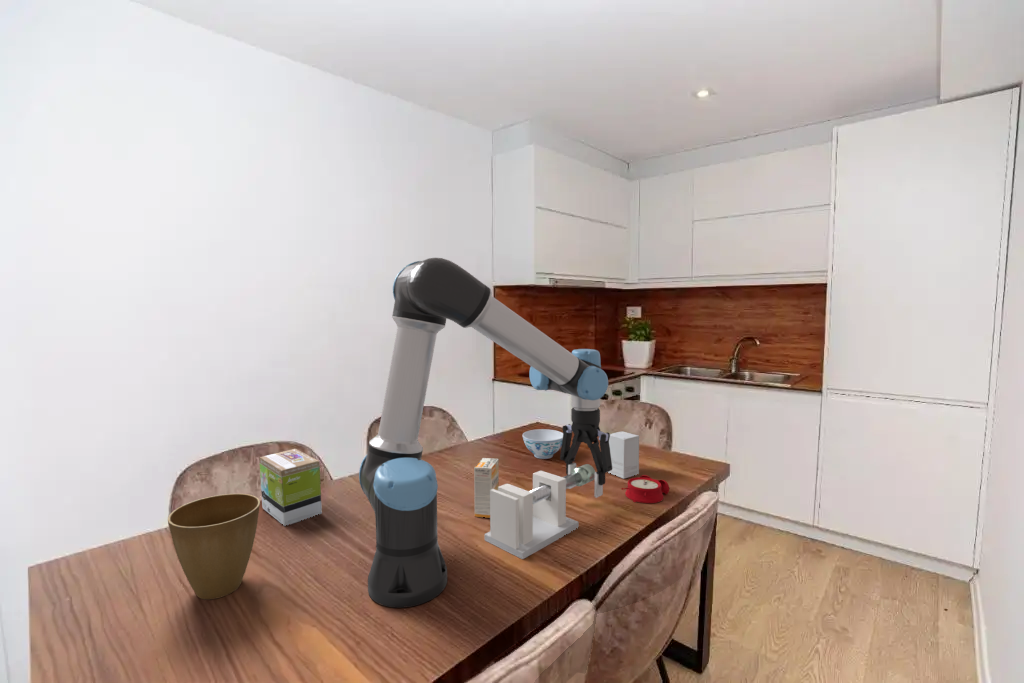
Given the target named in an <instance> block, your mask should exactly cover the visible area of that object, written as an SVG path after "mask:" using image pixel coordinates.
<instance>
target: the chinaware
mask: <svg viewBox="0 0 1024 683" xmlns="http://www.w3.org/2000/svg"><path fill="white" fill-rule="evenodd" d="M522 439H523V442H524V444H525V447H526V449H527V450H529V452H531V453H532V454H533V456H534V457H535V458H537V459H539V460H544V459H545V460H547V459H551V458H553V456H554V455H555V454H556V453H557V452H558V451H560V450H561V446H562V440H563V431H562V432H561V431H559V430H555V429H545V428H541V429H537V428H536V429H530V430H527V431H525V432H523V433H522Z"/></svg>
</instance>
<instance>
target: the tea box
mask: <svg viewBox="0 0 1024 683" xmlns="http://www.w3.org/2000/svg"><path fill="white" fill-rule="evenodd" d="M258 461H259V472H260V473H259V474H260V476H259V478H260V490H261V492H260V493H261V506H262V509H263V510H264V511H265V512H266V513H268V514H269V515H270V516H272V517H273V518H274V519H275V520H276V521H277V522H278V523H280V524H281V525H282V524H283V527H286V525H287V526H289V524H290V525H293V524H296V523H299V522H301V520H302V521H304V519H305V520H308V519H310V517H311V518H313V516H314V517H316V516H315V515H317V516H319V515H321V514H323V512H322V510H323V508H322V490H321V489H322V488H321V487H322V486H321V468H320V467H321V466H320V460H318V459H316V458H314V457H312V456H311V455H308V454H306V453H305V452H303V451H301V450H299V449H297V448H293V449H288V450H284V451H281V452H277V453H272V454H267V455H263V456H259V460H258ZM318 514H319V515H318ZM307 518H308V519H307Z"/></svg>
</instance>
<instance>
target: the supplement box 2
mask: <svg viewBox="0 0 1024 683" xmlns="http://www.w3.org/2000/svg"><path fill="white" fill-rule="evenodd" d="M609 434H610V438H609V446H610V454H611V461H612V470H611V471H609V472H608V473H607V474H610V473H611V475H613V476H615V475H616V477H618V478H621V479H627V478H631V477H634V475H635V476H638V475H639V474H640V435H638V434H634V433H630V432H626V431H623V430H622V431H617V432H613V433H609ZM637 474H638V475H637Z"/></svg>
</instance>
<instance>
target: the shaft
mask: <svg viewBox="0 0 1024 683" xmlns="http://www.w3.org/2000/svg"><path fill="white" fill-rule="evenodd" d="M595 472H596V470H595V468H594V467H593V465H591V464H588V463H586V464H582V465H580V466H578V467H577V466H576V468H575V469H573V470H572V471H571V473H570V474H569V475H567V474H566V475H565V476H562V477H563V478H566V490H567V489H569V488H570V487H572V486H574V485H576V486H575V487H582V486H584V485H586V484H588V483H591V482H593V481H595ZM528 491H529V492H532V493H533V504H535V503H537V502H539V501H541V500H543V499H546V498H548V497H550V496H551V486H549V485H547V484H545V485H543V486H541V487H538V488H536V489H534V490H533V489H532V490H528Z"/></svg>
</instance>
